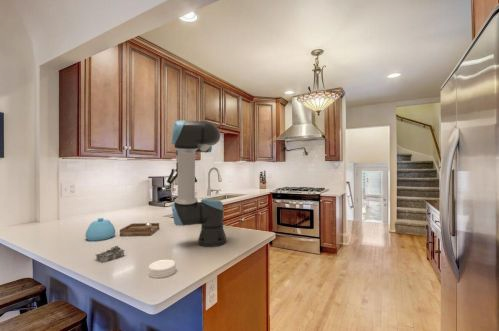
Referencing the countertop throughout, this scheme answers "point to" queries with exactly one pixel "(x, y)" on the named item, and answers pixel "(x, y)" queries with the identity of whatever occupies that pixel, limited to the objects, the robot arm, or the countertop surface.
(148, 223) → the ball
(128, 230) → the tray
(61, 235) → the countertop surface
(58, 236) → the countertop surface
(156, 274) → the coaster
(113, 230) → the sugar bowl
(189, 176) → the robot arm
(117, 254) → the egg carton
